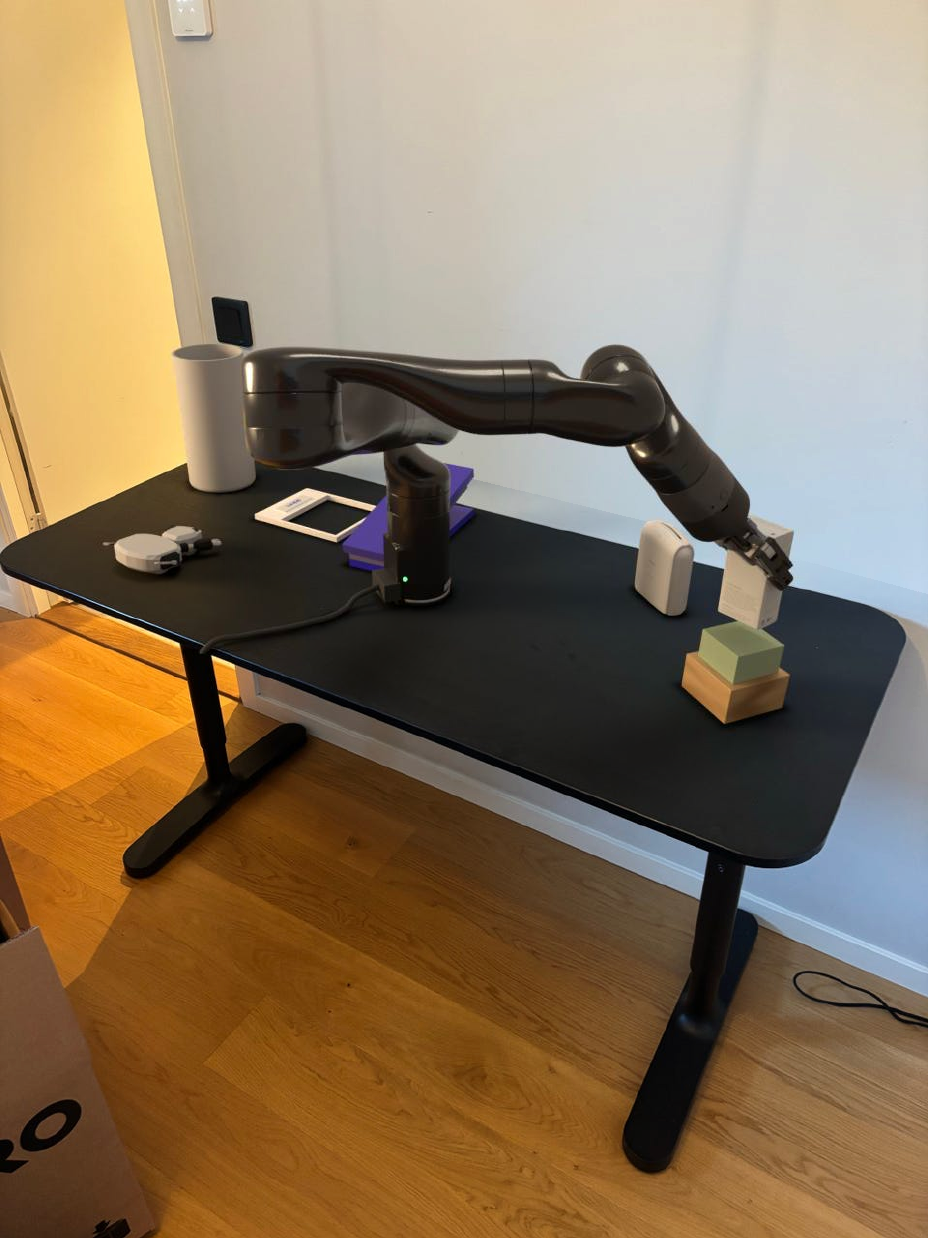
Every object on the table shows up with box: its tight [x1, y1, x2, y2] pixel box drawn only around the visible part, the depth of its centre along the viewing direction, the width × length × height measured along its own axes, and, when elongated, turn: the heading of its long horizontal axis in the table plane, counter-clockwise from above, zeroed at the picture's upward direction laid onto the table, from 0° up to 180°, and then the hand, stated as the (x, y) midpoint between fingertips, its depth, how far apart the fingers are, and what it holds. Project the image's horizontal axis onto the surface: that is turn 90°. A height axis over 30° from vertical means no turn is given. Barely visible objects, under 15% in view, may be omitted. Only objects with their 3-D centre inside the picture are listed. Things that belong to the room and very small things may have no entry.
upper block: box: [698, 620, 785, 684], centre depth 113 cm, size 7×7×4 cm
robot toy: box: [102, 524, 222, 575], centre depth 146 cm, size 12×4×15 cm
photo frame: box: [254, 487, 377, 543], centre depth 163 cm, size 15×1×18 cm
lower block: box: [681, 650, 791, 725], centre depth 115 cm, size 9×9×5 cm
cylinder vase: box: [171, 343, 257, 494], centre depth 170 cm, size 12×12×25 cm
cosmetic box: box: [717, 514, 795, 630], centre depth 108 cm, size 6×4×12 cm
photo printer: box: [634, 519, 695, 616], centre depth 135 cm, size 10×4×12 cm, turn 20°
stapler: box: [342, 462, 475, 572], centre depth 153 cm, size 12×28×10 cm, turn 156°
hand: (765, 570), depth 108 cm, fingers closed on cosmetic box, 6 cm apart
